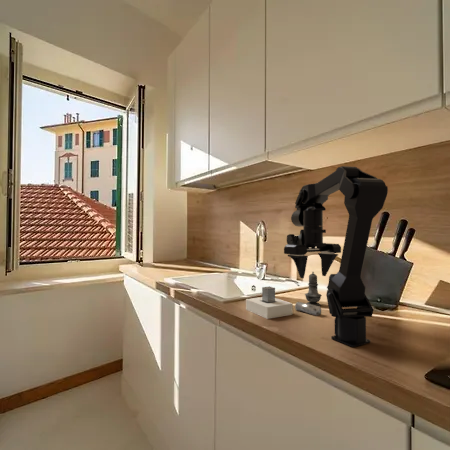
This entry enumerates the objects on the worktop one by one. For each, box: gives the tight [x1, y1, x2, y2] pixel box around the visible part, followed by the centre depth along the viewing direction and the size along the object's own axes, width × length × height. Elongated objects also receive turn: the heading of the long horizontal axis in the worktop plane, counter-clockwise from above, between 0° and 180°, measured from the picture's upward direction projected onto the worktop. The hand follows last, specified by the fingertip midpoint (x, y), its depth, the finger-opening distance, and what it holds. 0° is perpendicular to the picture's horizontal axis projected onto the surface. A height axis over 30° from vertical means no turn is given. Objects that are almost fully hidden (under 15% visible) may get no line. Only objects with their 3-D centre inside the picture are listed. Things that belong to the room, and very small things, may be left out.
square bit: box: [261, 286, 276, 303], centre depth 97 cm, size 3×3×8 cm
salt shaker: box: [304, 271, 322, 307], centre depth 107 cm, size 6×6×12 cm
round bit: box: [294, 301, 322, 317], centre depth 96 cm, size 8×3×3 cm
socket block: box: [245, 296, 294, 320], centre depth 97 cm, size 12×10×4 cm
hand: (313, 277), depth 90 cm, fingers open, 9 cm apart
